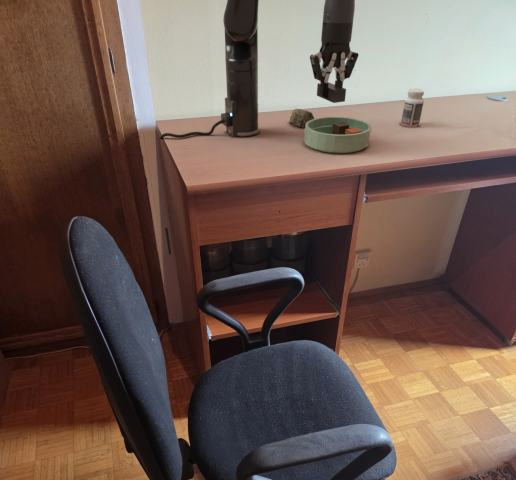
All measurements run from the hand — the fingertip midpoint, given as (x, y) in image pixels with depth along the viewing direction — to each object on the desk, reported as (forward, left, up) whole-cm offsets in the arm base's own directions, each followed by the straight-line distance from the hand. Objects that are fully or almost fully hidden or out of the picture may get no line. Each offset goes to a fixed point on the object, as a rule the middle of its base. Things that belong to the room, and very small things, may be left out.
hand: (330, 96), depth 122 cm
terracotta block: (+7, -3, -12) cm, 14 cm away
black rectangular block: (0, 0, 0) cm, 0 cm away
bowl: (+3, 0, -13) cm, 13 cm away
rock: (+4, +22, -13) cm, 26 cm away
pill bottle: (+35, +6, -13) cm, 38 cm away
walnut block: (+7, +3, -12) cm, 14 cm away
